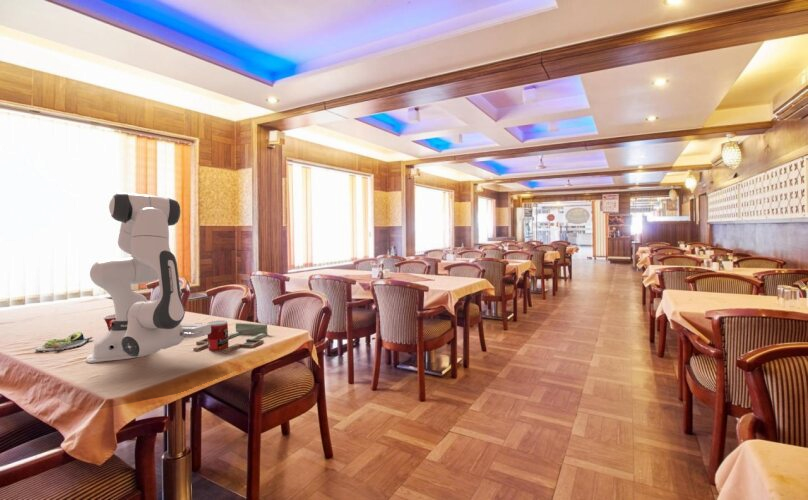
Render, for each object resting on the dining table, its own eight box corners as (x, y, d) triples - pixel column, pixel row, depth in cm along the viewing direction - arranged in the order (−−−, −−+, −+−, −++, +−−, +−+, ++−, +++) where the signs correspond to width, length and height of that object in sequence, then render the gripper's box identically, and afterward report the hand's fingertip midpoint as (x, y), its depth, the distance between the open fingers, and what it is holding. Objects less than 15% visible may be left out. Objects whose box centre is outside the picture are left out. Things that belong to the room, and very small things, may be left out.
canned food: (221, 351, 161) (219, 324, 160) (203, 350, 162) (202, 324, 162) (232, 346, 168) (231, 320, 168) (216, 345, 170) (214, 320, 169)
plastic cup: (114, 337, 188) (112, 312, 187) (138, 336, 189) (136, 311, 188) (98, 343, 177) (96, 317, 177) (124, 342, 178) (122, 316, 177)
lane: (239, 354, 157) (238, 341, 157) (181, 350, 164) (180, 338, 164) (278, 335, 184) (278, 324, 183) (227, 332, 191) (227, 322, 191)
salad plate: (80, 350, 169) (80, 339, 168) (26, 356, 162) (25, 345, 161) (95, 339, 186) (95, 329, 186) (47, 344, 179) (46, 334, 179)
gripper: (193, 325, 139) (221, 317, 152) (147, 325, 144) (177, 316, 157) (195, 343, 139) (222, 333, 152) (148, 342, 144) (179, 332, 158)
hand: (199, 325), depth 155 cm, fingers closed
